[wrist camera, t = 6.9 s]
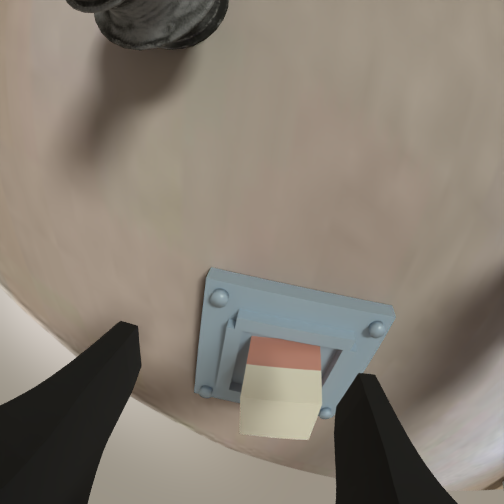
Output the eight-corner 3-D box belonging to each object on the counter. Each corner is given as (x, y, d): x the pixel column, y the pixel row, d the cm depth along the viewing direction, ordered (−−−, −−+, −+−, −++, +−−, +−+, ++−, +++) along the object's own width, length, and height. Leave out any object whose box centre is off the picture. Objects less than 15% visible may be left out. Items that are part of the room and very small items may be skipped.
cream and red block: (319, 341, 20) (322, 404, 16) (309, 383, 23) (308, 439, 18) (251, 335, 21) (240, 397, 16) (249, 377, 23) (239, 433, 19)
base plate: (391, 305, 20) (398, 325, 18) (331, 406, 26) (332, 425, 24) (210, 267, 20) (202, 285, 18) (197, 381, 26) (191, 400, 24)
